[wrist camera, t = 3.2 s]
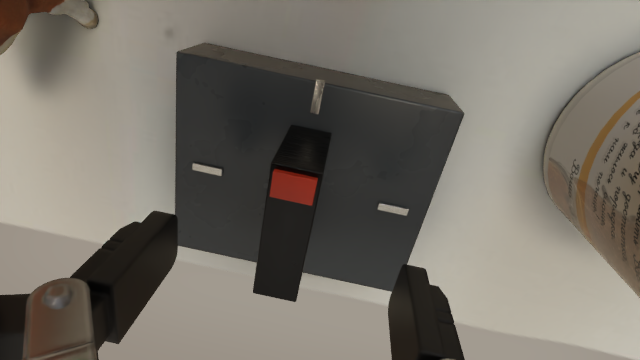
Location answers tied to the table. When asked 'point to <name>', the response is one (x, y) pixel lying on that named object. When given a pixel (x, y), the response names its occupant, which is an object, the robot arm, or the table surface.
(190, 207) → the dial panel
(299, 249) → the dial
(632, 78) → the mug
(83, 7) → the bull figurine
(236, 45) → the table surface
